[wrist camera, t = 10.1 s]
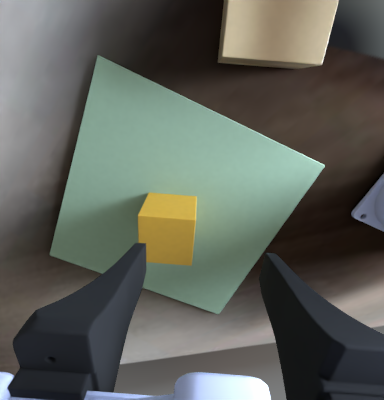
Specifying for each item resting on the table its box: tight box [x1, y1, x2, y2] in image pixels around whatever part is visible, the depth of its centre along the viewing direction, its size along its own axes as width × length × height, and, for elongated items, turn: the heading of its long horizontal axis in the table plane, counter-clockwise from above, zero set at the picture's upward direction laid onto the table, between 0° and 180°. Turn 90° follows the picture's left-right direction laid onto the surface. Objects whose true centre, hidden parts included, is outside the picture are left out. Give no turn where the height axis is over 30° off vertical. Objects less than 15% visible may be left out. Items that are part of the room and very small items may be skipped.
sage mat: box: [50, 55, 325, 314], centre depth 23 cm, size 20×20×1 cm
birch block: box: [218, 0, 339, 69], centre depth 15 cm, size 6×6×4 cm
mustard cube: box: [138, 193, 197, 266], centre depth 21 cm, size 4×4×4 cm
